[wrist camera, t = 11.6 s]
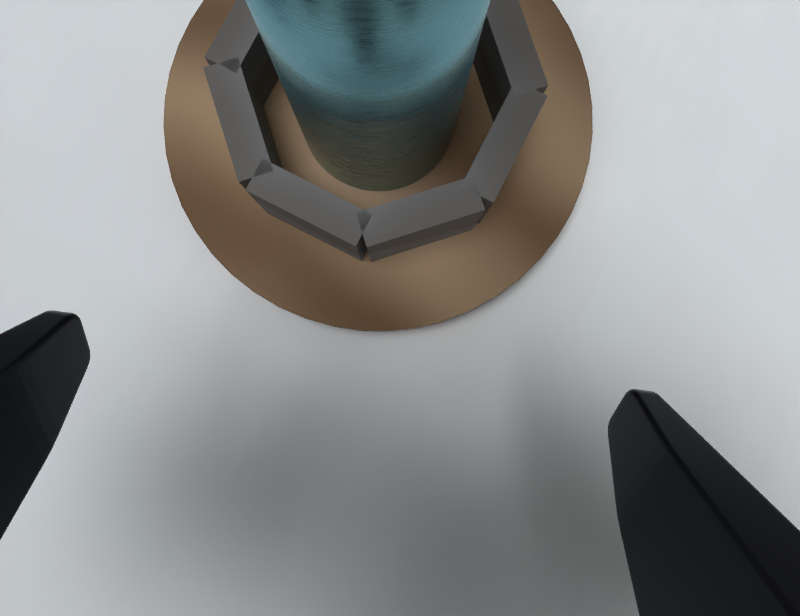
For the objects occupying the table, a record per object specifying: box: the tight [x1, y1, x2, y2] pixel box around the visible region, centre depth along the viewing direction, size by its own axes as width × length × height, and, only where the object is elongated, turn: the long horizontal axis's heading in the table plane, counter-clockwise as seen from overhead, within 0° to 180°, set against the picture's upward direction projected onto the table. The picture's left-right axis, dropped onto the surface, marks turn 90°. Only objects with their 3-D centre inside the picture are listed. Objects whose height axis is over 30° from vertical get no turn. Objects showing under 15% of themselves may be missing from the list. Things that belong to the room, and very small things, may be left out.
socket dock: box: [164, 0, 592, 331], centre depth 17 cm, size 14×14×4 cm
